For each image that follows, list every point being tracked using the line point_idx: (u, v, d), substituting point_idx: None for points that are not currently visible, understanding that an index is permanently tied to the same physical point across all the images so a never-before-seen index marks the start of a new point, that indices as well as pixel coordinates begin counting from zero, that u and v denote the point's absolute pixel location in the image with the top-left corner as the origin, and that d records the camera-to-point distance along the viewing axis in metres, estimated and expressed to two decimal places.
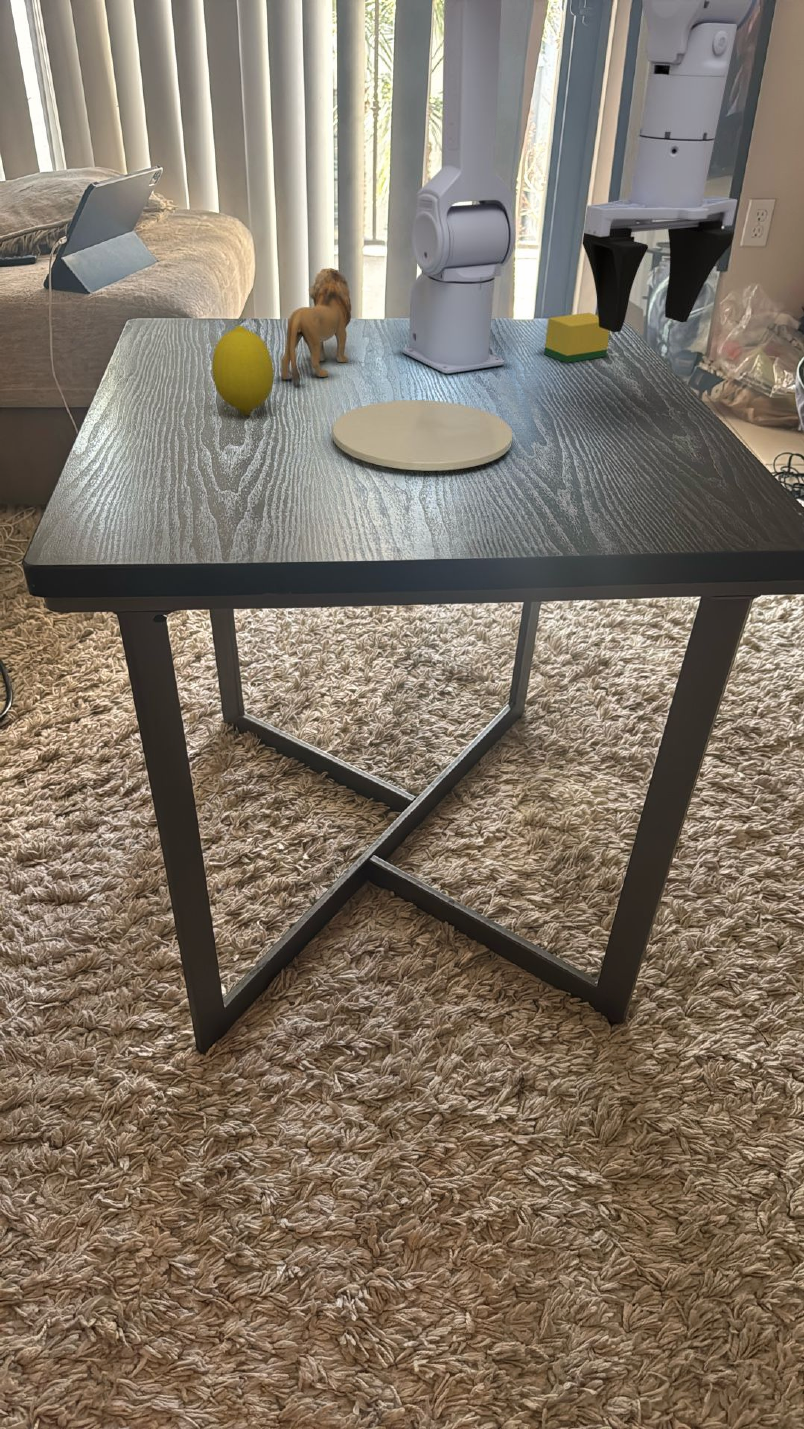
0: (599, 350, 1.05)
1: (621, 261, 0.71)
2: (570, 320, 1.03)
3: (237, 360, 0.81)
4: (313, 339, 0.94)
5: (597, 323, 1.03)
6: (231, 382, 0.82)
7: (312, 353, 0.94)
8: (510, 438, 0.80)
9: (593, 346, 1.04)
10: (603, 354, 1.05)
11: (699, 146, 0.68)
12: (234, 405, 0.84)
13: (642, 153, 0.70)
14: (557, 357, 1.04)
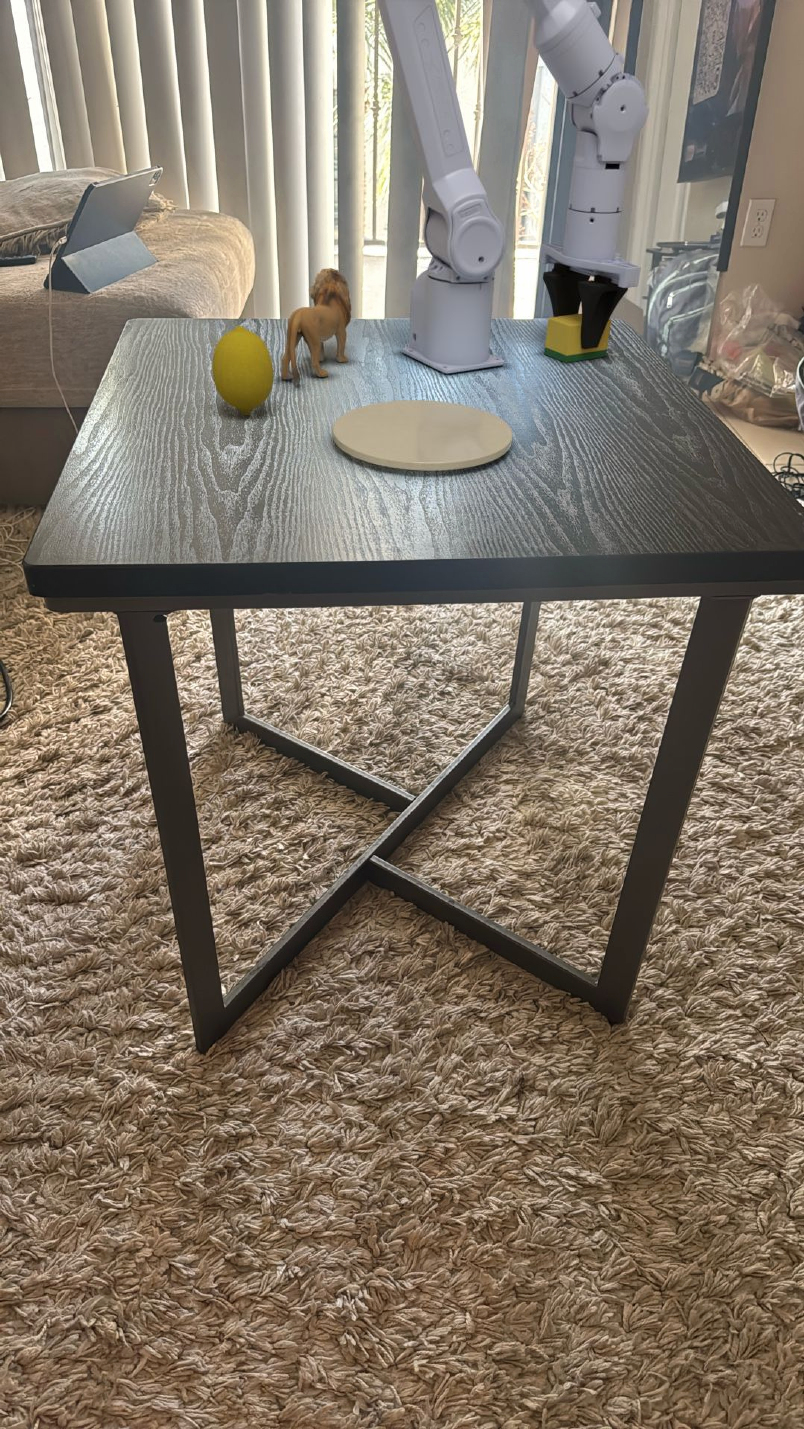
0: (599, 350, 1.05)
1: (623, 295, 1.00)
2: (570, 320, 1.03)
3: (237, 360, 0.81)
4: (313, 339, 0.94)
5: None
6: (231, 382, 0.82)
7: (312, 353, 0.94)
8: (510, 438, 0.80)
9: None
10: (603, 354, 1.05)
11: None
12: (234, 405, 0.84)
13: (607, 224, 0.95)
14: (557, 357, 1.04)
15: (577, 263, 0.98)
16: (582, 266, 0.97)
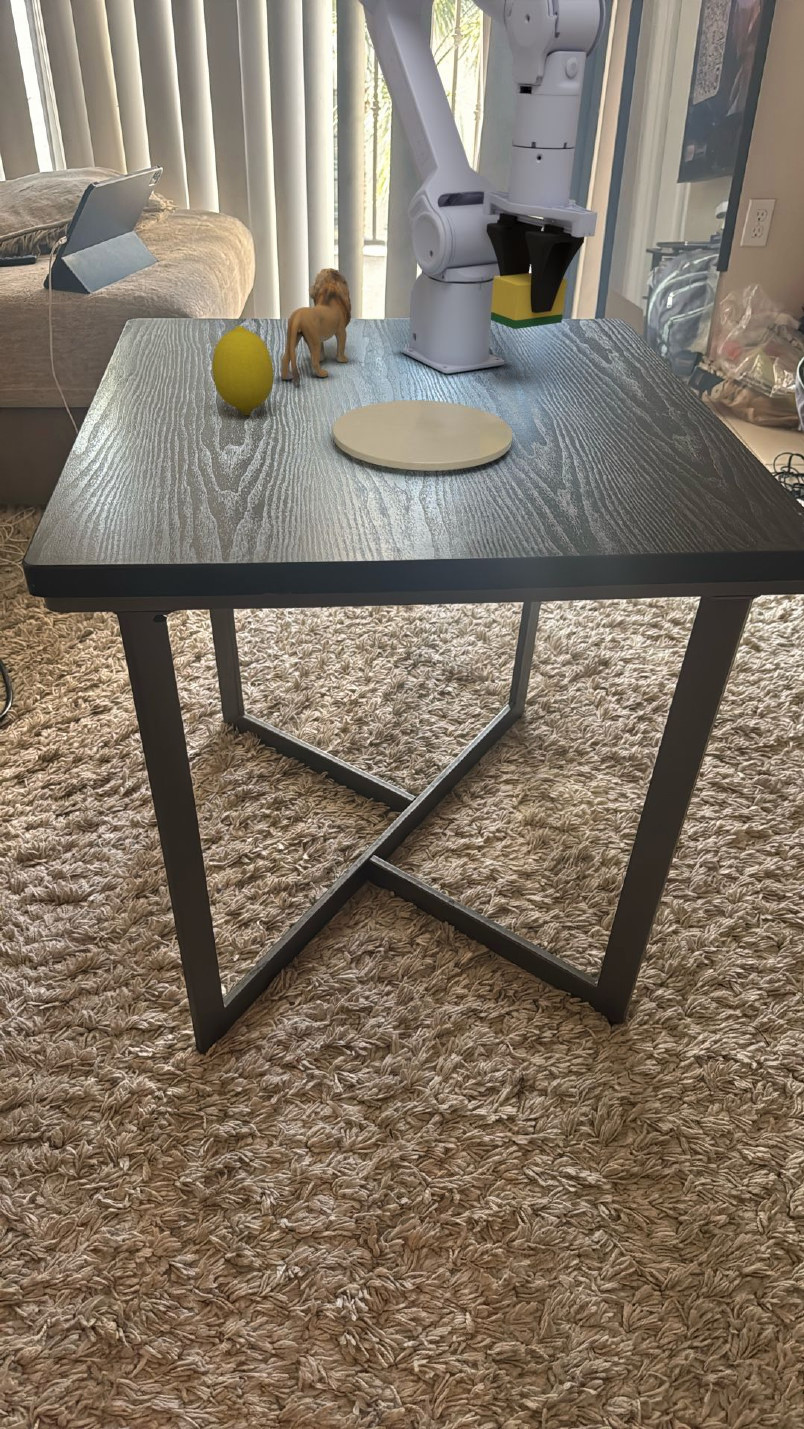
0: (553, 315, 0.91)
1: (578, 249, 0.85)
2: (519, 279, 0.88)
3: (237, 360, 0.81)
4: (313, 339, 0.94)
5: None
6: (231, 382, 0.82)
7: (312, 353, 0.94)
8: (510, 438, 0.80)
9: None
10: (559, 320, 0.91)
11: None
12: (234, 405, 0.84)
13: (557, 162, 0.81)
14: (505, 323, 0.90)
15: (524, 210, 0.83)
16: (529, 213, 0.83)
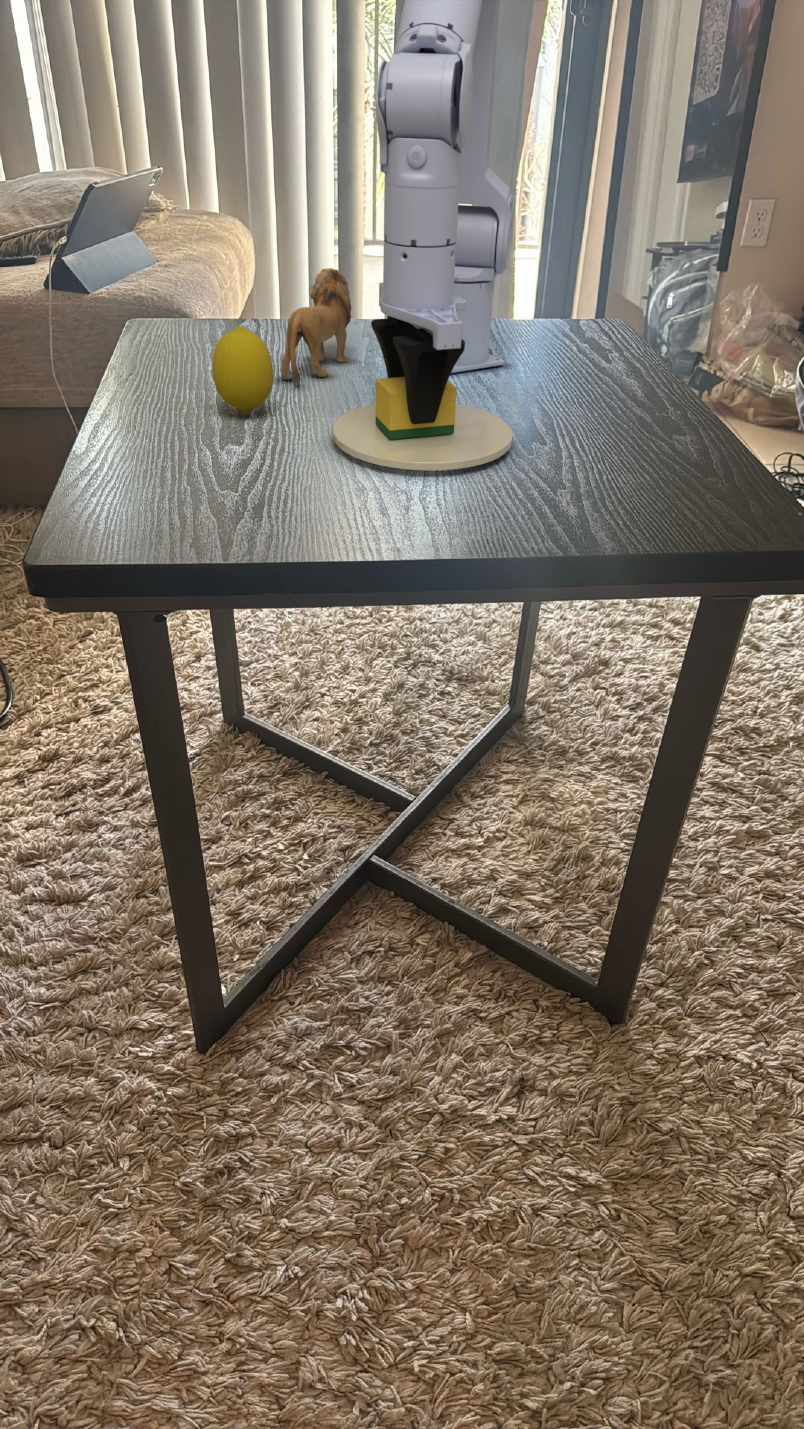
0: (442, 425, 0.79)
1: (458, 358, 0.74)
2: (400, 384, 0.78)
3: (237, 360, 0.81)
4: (313, 339, 0.94)
5: None
6: (231, 382, 0.82)
7: (312, 353, 0.94)
8: (510, 438, 0.80)
9: None
10: (450, 431, 0.80)
11: None
12: (234, 405, 0.84)
13: (425, 262, 0.70)
14: (383, 431, 0.79)
15: (391, 312, 0.73)
16: (396, 316, 0.72)
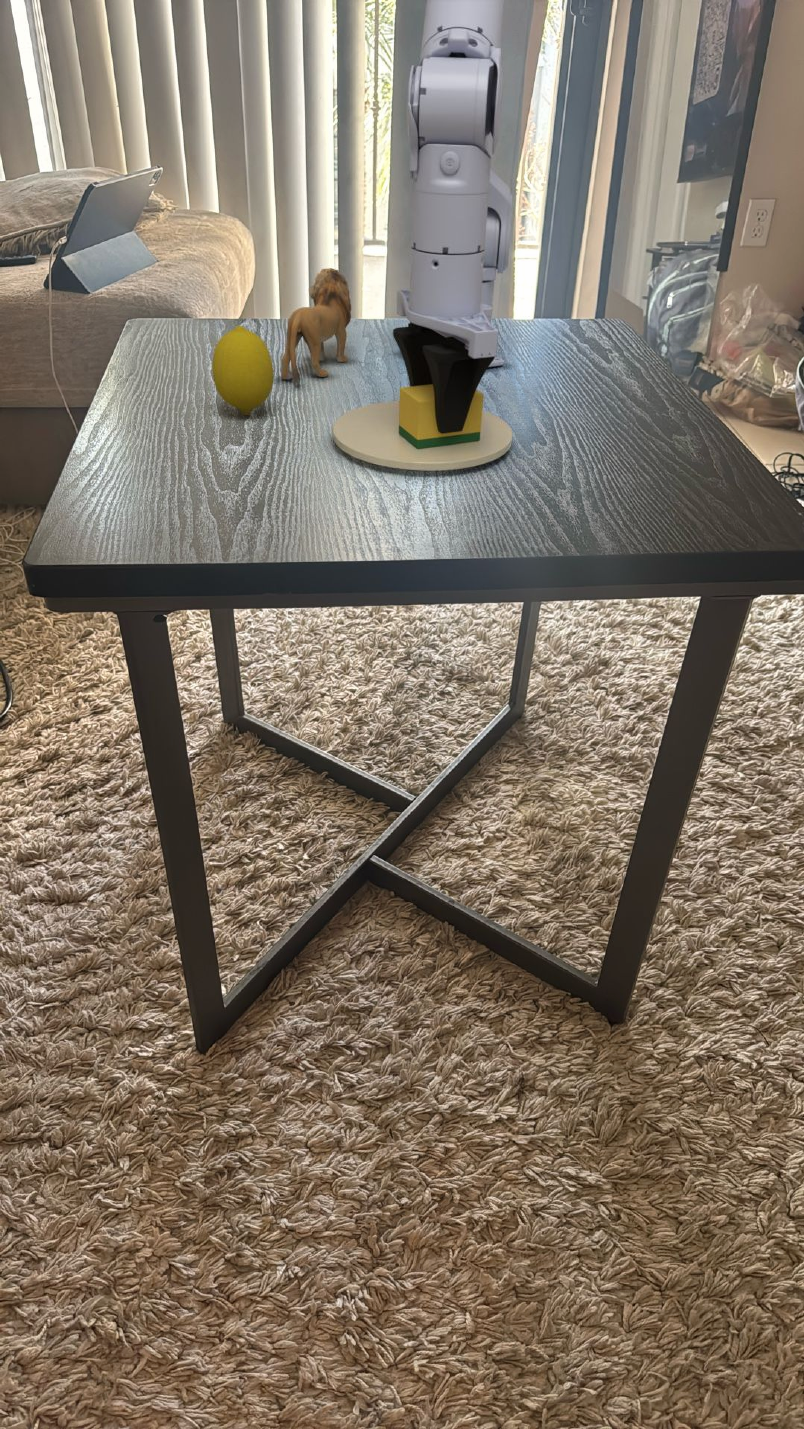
0: (469, 433, 0.78)
1: (488, 365, 0.73)
2: (426, 392, 0.76)
3: (237, 360, 0.81)
4: (313, 339, 0.94)
5: None
6: (231, 382, 0.82)
7: (312, 353, 0.94)
8: (510, 438, 0.80)
9: None
10: (476, 438, 0.79)
11: None
12: (234, 405, 0.84)
13: (457, 270, 0.69)
14: (409, 440, 0.78)
15: (421, 321, 0.71)
16: (426, 325, 0.71)
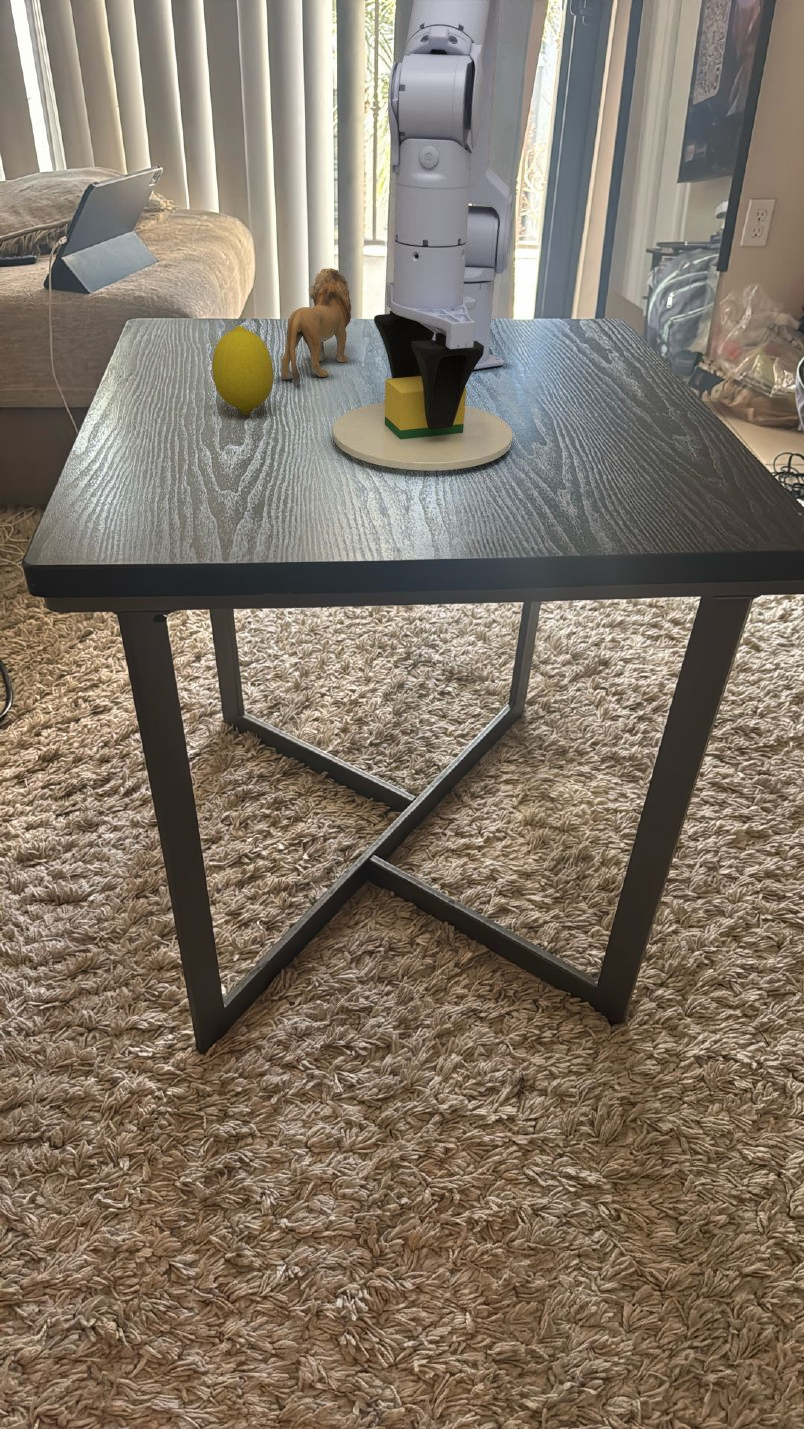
0: None
1: (477, 362, 0.73)
2: (410, 384, 0.78)
3: (237, 360, 0.81)
4: (313, 339, 0.94)
5: None
6: (231, 382, 0.82)
7: (312, 353, 0.94)
8: (510, 438, 0.80)
9: None
10: (459, 430, 0.80)
11: None
12: (234, 405, 0.84)
13: (437, 262, 0.70)
14: (393, 430, 0.80)
15: (403, 312, 0.73)
16: (408, 316, 0.73)
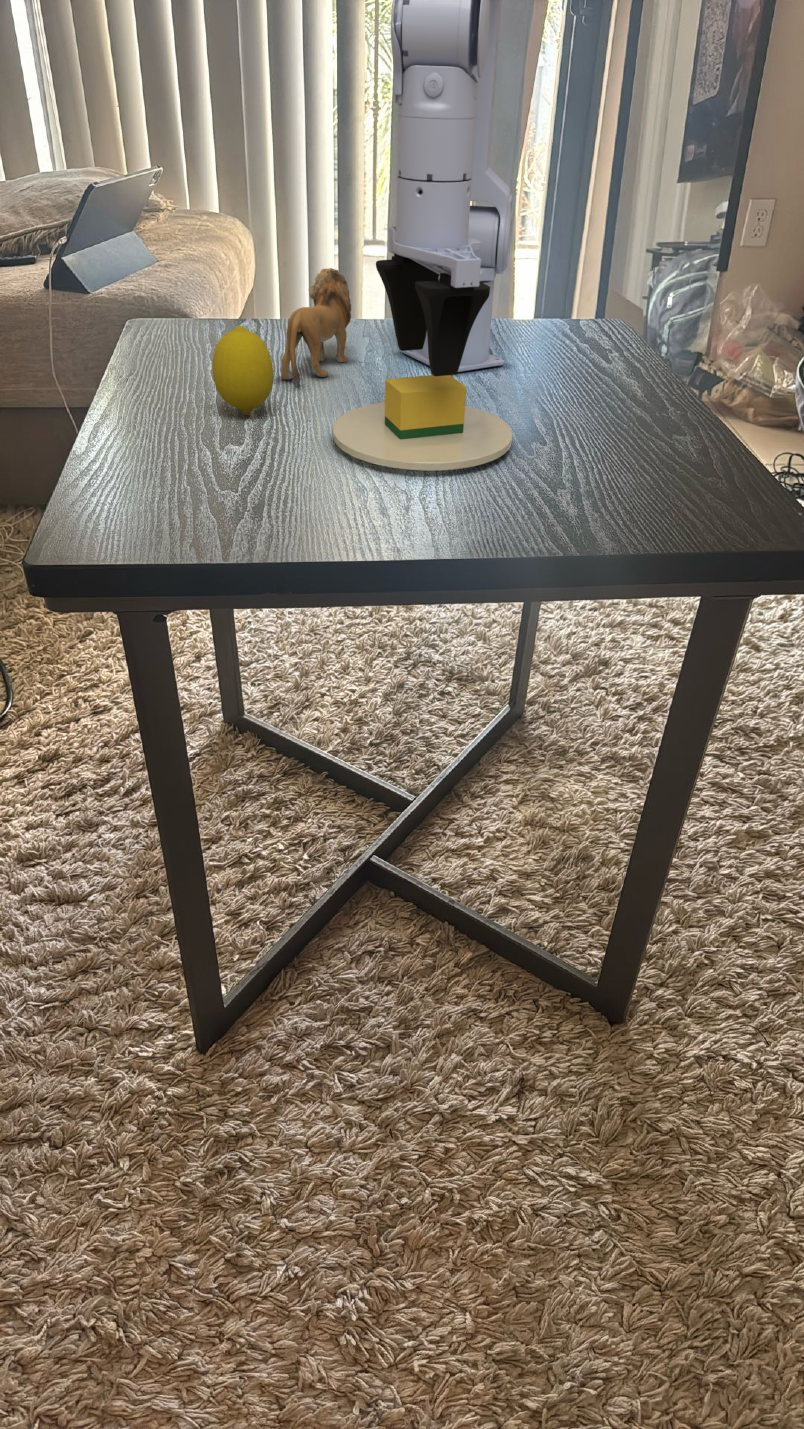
0: (452, 425, 0.80)
1: (482, 304, 0.71)
2: (410, 384, 0.78)
3: (237, 360, 0.81)
4: (313, 339, 0.94)
5: (444, 390, 0.78)
6: (231, 382, 0.82)
7: (312, 353, 0.94)
8: (510, 438, 0.80)
9: (441, 419, 0.79)
10: (459, 430, 0.80)
11: None
12: (234, 405, 0.84)
13: (442, 198, 0.68)
14: (393, 430, 0.80)
15: (406, 252, 0.71)
16: (411, 256, 0.70)
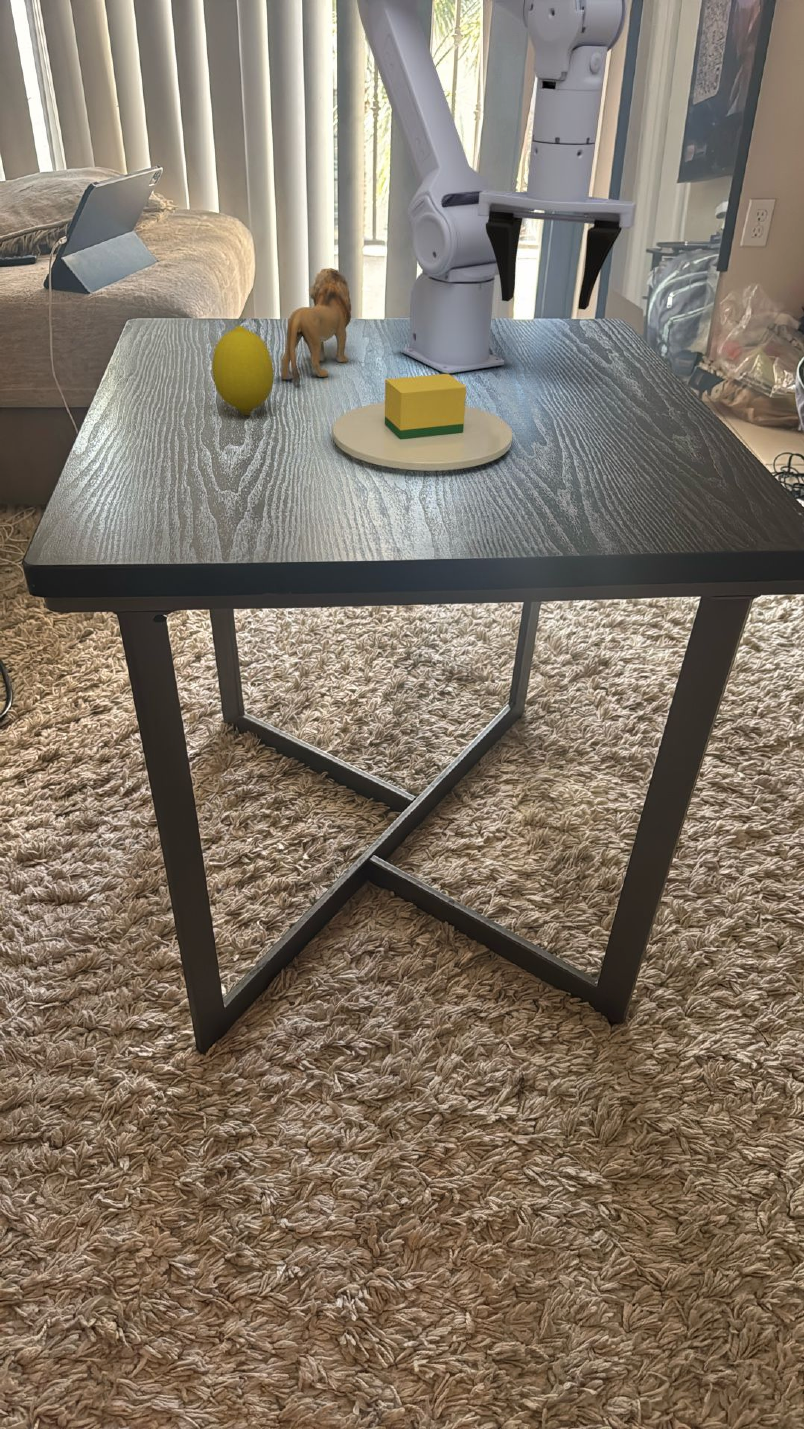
0: (452, 425, 0.80)
1: None
2: (410, 384, 0.78)
3: (237, 360, 0.81)
4: (313, 339, 0.94)
5: (444, 390, 0.78)
6: (231, 382, 0.82)
7: (312, 353, 0.94)
8: (510, 438, 0.80)
9: (441, 419, 0.79)
10: (459, 430, 0.80)
11: None
12: (234, 405, 0.84)
13: (591, 157, 0.82)
14: (393, 430, 0.80)
15: (565, 207, 0.83)
16: (572, 209, 0.83)
